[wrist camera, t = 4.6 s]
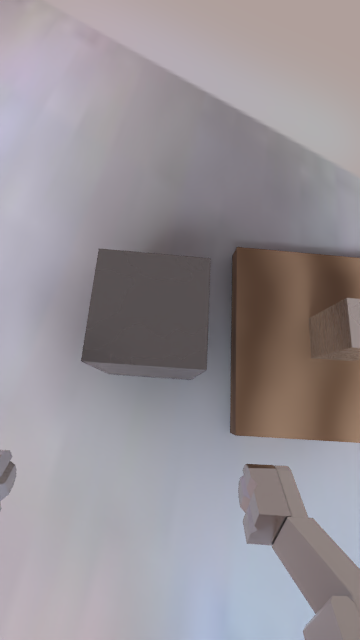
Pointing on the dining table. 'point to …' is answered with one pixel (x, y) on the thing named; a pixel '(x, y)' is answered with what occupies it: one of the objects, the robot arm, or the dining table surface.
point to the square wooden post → (336, 332)
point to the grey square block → (148, 315)
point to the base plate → (290, 347)
